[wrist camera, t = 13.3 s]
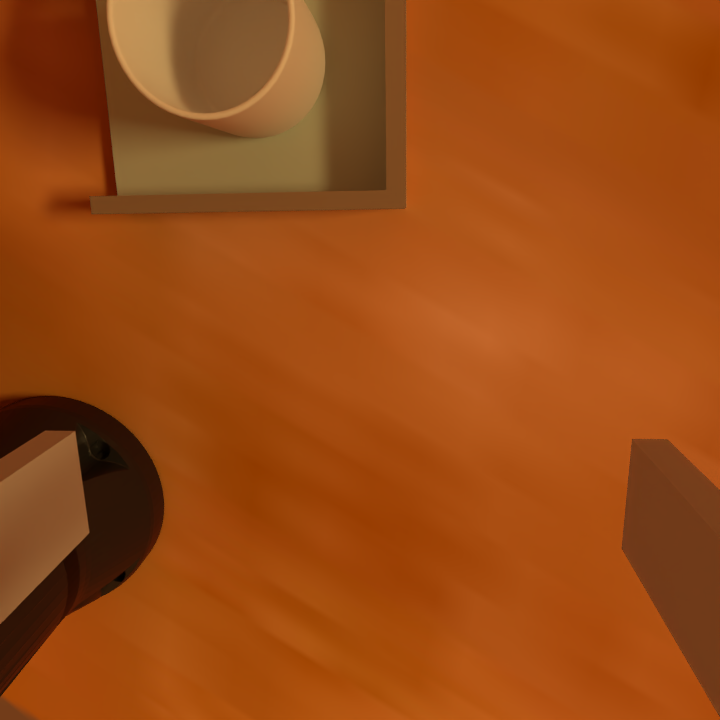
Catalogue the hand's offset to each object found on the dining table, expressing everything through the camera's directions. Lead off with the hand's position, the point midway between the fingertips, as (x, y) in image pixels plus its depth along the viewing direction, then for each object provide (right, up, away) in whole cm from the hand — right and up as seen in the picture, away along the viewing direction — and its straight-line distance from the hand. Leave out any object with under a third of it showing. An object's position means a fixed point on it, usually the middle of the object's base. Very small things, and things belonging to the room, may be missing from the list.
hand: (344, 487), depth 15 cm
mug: (-7, +22, +22) cm, 32 cm away
